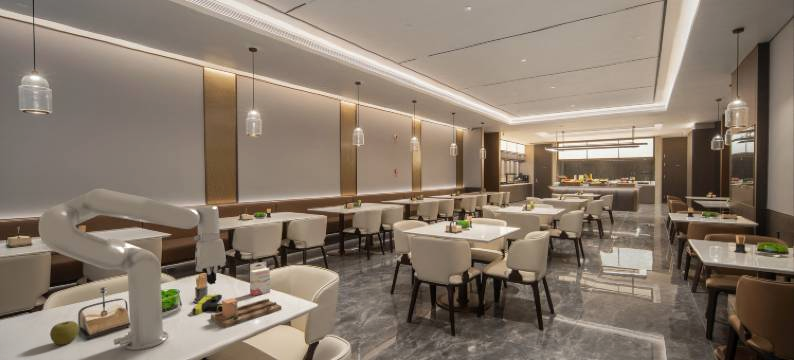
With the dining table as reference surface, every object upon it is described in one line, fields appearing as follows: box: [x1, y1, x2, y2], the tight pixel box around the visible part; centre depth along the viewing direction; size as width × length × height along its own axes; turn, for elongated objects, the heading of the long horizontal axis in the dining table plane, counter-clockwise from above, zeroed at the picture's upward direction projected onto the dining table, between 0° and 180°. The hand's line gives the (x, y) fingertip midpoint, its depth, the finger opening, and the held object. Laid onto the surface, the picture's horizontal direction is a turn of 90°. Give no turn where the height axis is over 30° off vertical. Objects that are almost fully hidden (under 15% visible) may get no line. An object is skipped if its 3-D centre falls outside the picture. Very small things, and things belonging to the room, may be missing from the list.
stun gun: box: [192, 293, 223, 316], centre depth 165 cm, size 3×19×15 cm
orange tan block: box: [221, 297, 238, 317], centre depth 147 cm, size 4×9×6 cm, turn 47°
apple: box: [49, 320, 79, 346], centre depth 131 cm, size 8×8×7 cm
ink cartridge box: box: [249, 261, 271, 297], centre depth 180 cm, size 9×5×15 cm, turn 130°
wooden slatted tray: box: [210, 298, 282, 329], centre depth 153 cm, size 24×14×4 cm, turn 137°
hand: (211, 283), depth 143 cm, fingers closed
